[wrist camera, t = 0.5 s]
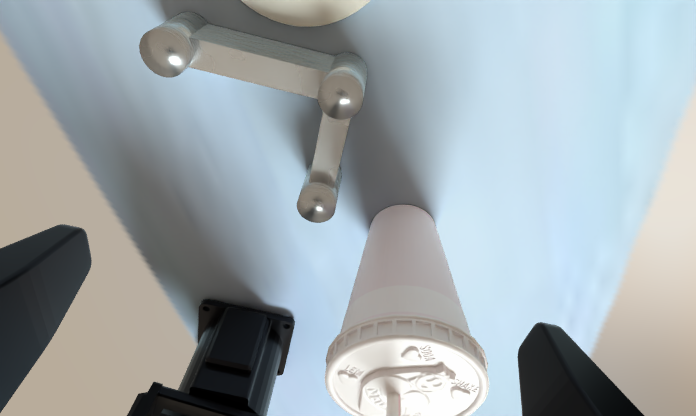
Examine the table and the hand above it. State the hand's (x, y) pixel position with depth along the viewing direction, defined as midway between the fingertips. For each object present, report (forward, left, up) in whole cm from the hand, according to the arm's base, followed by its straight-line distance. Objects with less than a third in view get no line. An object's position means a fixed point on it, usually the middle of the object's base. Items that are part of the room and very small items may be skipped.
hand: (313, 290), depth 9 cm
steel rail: (-3, +4, -13) cm, 14 cm away
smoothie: (-8, -5, -14) cm, 16 cm away
